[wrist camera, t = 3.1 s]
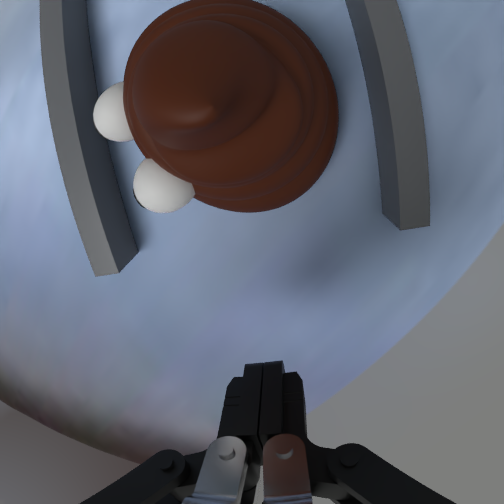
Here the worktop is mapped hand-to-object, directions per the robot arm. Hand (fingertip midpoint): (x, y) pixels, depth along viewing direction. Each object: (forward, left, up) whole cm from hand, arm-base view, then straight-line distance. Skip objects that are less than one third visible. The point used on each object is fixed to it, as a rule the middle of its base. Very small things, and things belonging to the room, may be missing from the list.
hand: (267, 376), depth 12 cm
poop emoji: (-11, 0, -6) cm, 12 cm away
